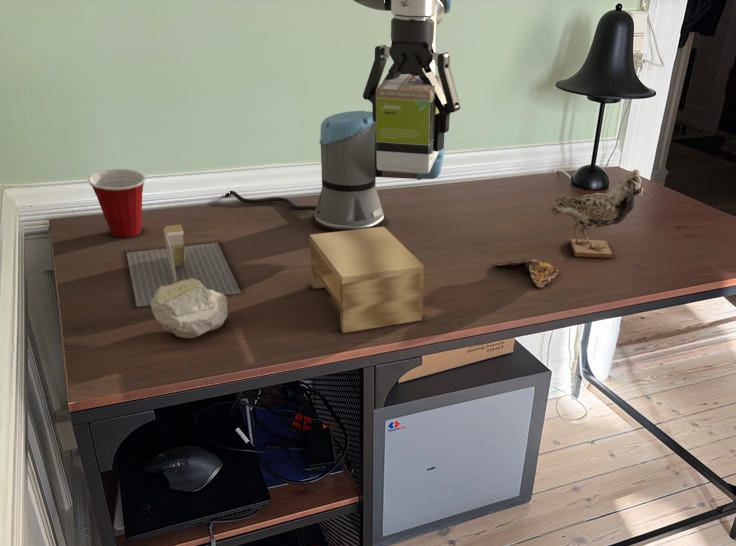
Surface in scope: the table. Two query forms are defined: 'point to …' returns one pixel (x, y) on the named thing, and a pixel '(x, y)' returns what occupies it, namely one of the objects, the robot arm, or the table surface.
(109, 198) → the plastic cup
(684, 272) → the table surface
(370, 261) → the birch shelf
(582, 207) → the stuffed bird
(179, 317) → the white rock
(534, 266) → the butterfly model
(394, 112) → the tea box
